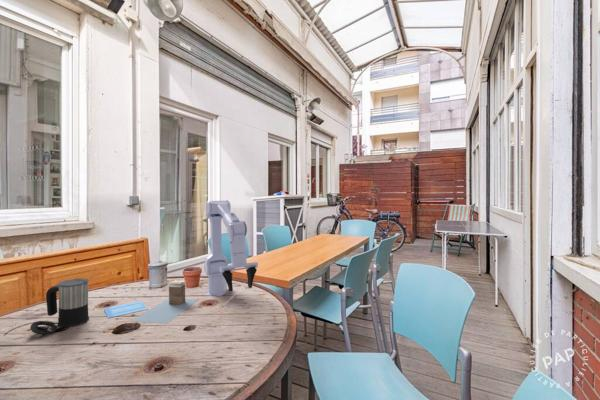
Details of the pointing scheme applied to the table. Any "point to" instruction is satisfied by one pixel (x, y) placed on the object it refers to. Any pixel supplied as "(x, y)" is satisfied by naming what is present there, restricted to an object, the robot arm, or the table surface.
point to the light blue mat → (164, 312)
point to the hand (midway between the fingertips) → (240, 289)
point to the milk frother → (65, 305)
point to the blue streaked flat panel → (124, 309)
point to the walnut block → (176, 292)
